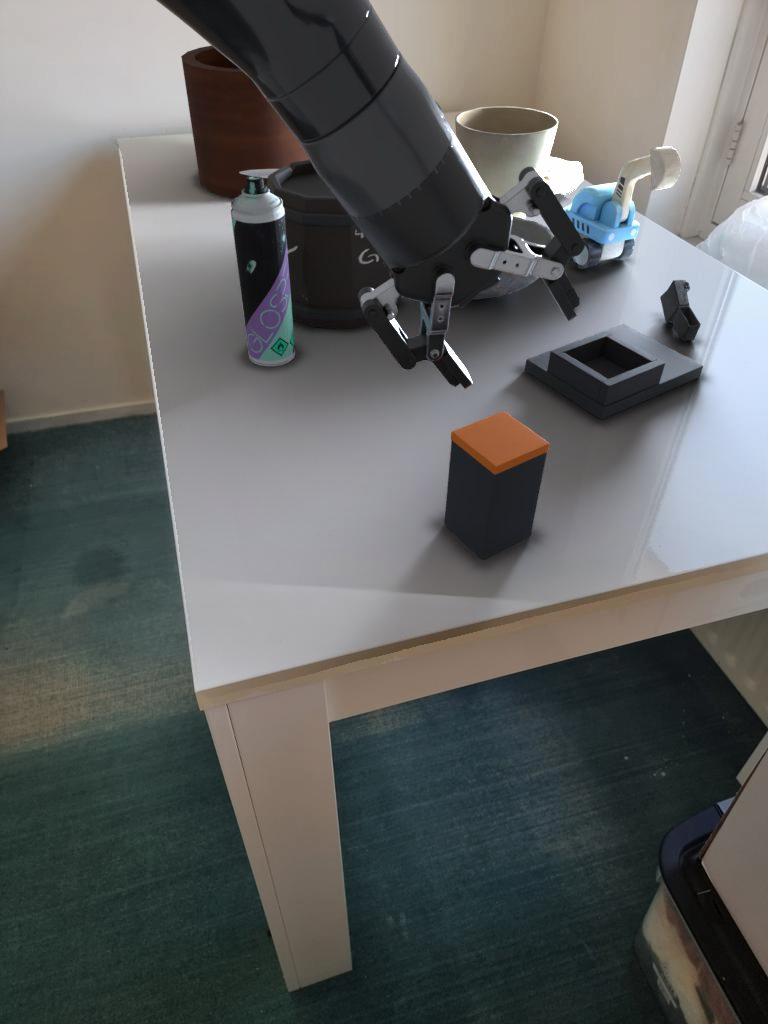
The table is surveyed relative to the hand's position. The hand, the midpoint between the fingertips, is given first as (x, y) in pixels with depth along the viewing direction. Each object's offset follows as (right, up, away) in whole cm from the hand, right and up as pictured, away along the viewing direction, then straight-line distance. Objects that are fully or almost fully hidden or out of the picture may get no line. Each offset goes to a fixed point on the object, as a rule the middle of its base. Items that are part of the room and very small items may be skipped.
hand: (516, 347), depth 53 cm
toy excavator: (+22, +24, +55) cm, 64 cm away
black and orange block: (-1, -14, +11) cm, 18 cm away
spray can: (-23, +7, +34) cm, 42 cm away
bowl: (+4, +19, +48) cm, 52 cm away
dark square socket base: (+17, +4, +32) cm, 36 cm away
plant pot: (+8, +33, +65) cm, 73 cm away
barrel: (-16, +16, +45) cm, 50 cm away
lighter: (+28, +12, +41) cm, 50 cm away
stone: (+19, +47, +81) cm, 96 cm away
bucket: (-31, +50, +83) cm, 101 cm away
